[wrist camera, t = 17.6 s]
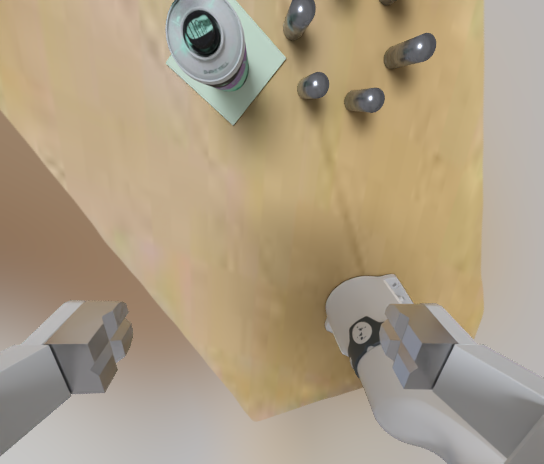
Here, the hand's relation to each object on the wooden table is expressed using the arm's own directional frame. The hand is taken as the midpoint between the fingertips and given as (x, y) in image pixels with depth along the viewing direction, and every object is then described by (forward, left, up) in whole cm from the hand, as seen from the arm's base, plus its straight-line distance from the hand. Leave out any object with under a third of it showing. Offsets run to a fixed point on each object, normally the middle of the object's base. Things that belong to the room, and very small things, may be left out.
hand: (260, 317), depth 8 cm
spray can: (+9, -5, -34) cm, 36 cm away
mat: (+10, -6, -34) cm, 36 cm away
